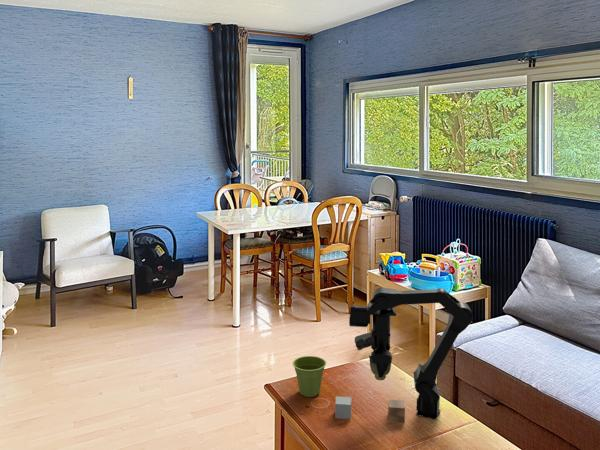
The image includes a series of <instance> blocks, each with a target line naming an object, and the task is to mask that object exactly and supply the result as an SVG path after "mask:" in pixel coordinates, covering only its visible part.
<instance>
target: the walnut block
mask: <svg viewBox="0 0 600 450" xmlns="http://www.w3.org/2000/svg"><path fill="white" fill-rule="evenodd" d="M387 400H388V403H387V405H388V406H387V407H388V408H387V411H388V412H387V417H388V422H389V423H390V422H391V423H406V422H405V420H406V416H405V415H406V405H405V400H400V399H387Z"/></svg>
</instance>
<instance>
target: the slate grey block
mask: <svg viewBox="0 0 600 450" xmlns="http://www.w3.org/2000/svg"><path fill="white" fill-rule="evenodd" d="M334 407H335V409H334V413H335V414H334V418H335V419H342V420H343V419H345V420H346V419H347V420H351V417H352V397H351V396H350V397H349V396H336V397H335V403H334Z"/></svg>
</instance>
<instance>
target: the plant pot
mask: <svg viewBox="0 0 600 450" xmlns="http://www.w3.org/2000/svg"><path fill="white" fill-rule="evenodd" d="M292 366H293V368H294V372H295V374H296V379H297V385H298V391H299V394H300V395H301V396H304V397H305V398H306V397H307V398H311V397H312V398H313V397H316V396H317V395H319V394H320V393H321V388H322V382H323V375H324V371H325V367H326V366H327V361H326V360H325V359H324V358H323V357H319V356H317V355H315V356H314V355H304V356H303V355H302V356H299V357H297V358H295V359H294V360H293V361H292Z"/></svg>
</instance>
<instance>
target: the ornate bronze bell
mask: <svg viewBox="0 0 600 450" xmlns="http://www.w3.org/2000/svg"><path fill="white" fill-rule="evenodd" d="M368 357H369V365H370V366H369V367H370V370H371V373H372V374H373V375H374V378H375V380H377V381H385V379H386V378H387V375H389V373H390V371H391V367H392V361H393V360H392V361H391V364H389V366H388V367H387V369H386V371H385V373H384V375H383V377H382V378H379V375H378V370H377V365H376V364H375V363H371V354H368ZM391 357H392V358H393V355H392V354H391Z"/></svg>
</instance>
